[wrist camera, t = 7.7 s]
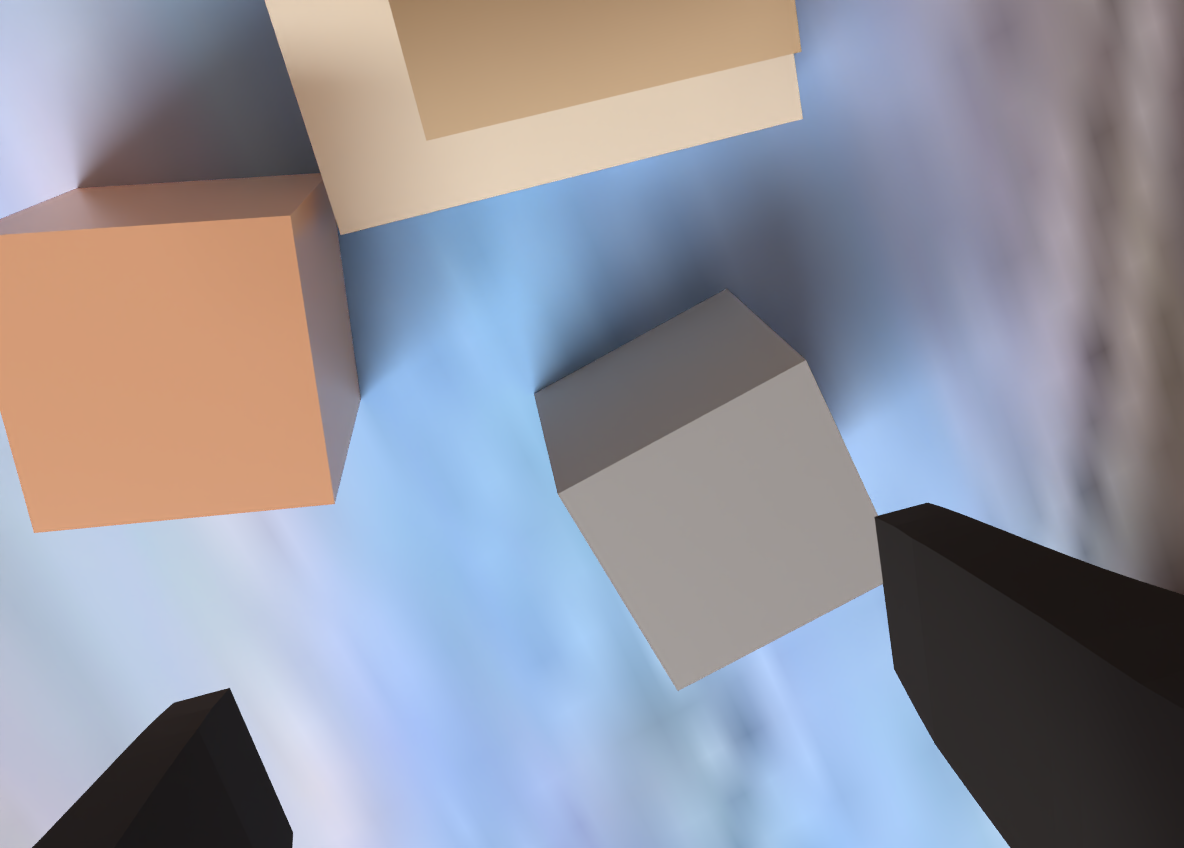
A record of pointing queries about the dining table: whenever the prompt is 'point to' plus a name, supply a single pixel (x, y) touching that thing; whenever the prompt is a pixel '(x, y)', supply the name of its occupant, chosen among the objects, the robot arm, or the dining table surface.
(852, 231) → the dining table surface
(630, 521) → the slate block
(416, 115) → the cream slab
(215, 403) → the terracotta block
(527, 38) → the maple block
